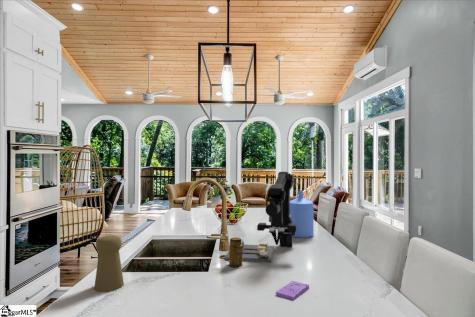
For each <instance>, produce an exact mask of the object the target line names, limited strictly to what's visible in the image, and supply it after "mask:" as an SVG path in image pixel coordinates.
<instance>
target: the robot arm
mask: <svg viewBox="0 0 475 317" xmlns="http://www.w3.org/2000/svg"><path fill="white" fill-rule="evenodd" d="M294 183H295V177H294V175H293V174H291V173H290V172H288V171H279V172H278V173H277V178H276V180H275V183H274V184H272V185H270V187H269V189H268V191H267V196H266V202H267V203H268V204H267V206H266V207H265V213H266V215H267V216H268V222H269V223H270V224H267V223H266V222H259V223H257V225H256V229H257V231H259V232H260V231H261V232H262V231H263V232H264V231H265V230H266V229H267V230H268V233H270V234H271V235H272V238H273V240H274V243H275V246H278V245H279V246H280V247H281V248H282V247H286V248H293V245H294V244H293V235H295V232H296V224H293V221H292V220H291V218H290V201H291V190H292V188H293V187H294ZM291 232H292V233H291Z"/></svg>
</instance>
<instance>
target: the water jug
mask: <svg viewBox="0 0 475 317" xmlns="http://www.w3.org/2000/svg"><path fill="white" fill-rule="evenodd" d="M297 192H298V193H297V197H296V198H294V199H292V200H290V218H291V220H292V221H293V224H296V232H295V235H293V236H292V238H293V237H294V238H299V239H301V238H302V239H306V238H312V237H313V236H314V235H315V234H314V232H315V231H314V220H315V219H314V202H313V201H311V200H309V199H307V198H305V197H304V191H303V190H298V191H297ZM291 233H292V232H291Z"/></svg>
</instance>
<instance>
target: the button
mask: <svg viewBox="0 0 475 317" xmlns="http://www.w3.org/2000/svg"><path fill="white" fill-rule="evenodd" d="M259 255H262V257H265V255H268V251H267V250H260V251H259Z"/></svg>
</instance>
